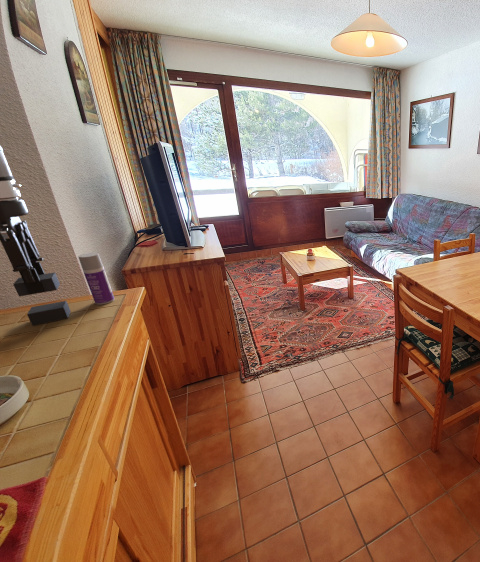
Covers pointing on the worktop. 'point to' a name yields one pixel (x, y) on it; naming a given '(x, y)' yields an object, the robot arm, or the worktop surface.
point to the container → (96, 278)
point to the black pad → (49, 313)
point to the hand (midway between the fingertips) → (39, 289)
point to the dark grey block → (47, 280)
